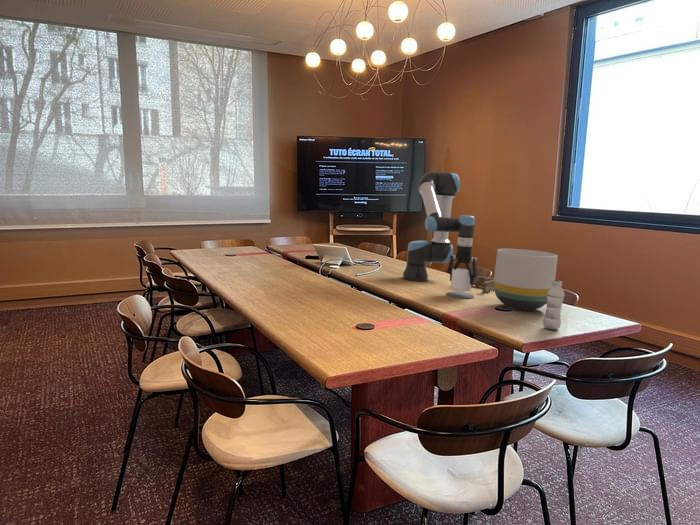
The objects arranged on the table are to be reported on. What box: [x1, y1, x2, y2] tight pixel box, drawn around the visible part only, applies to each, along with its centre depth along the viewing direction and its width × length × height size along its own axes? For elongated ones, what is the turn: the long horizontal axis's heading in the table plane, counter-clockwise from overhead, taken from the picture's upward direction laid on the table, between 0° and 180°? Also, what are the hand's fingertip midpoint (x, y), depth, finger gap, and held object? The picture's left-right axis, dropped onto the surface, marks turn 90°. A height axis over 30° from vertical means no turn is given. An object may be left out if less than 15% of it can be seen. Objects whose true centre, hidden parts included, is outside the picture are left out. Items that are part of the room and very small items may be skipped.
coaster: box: [446, 291, 475, 300], centre depth 245 cm, size 14×14×1 cm
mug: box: [450, 267, 469, 293], centre depth 244 cm, size 9×12×11 cm
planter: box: [493, 248, 558, 311], centre depth 223 cm, size 27×27×27 cm
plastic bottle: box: [542, 279, 566, 331], centre depth 189 cm, size 6×7×20 cm
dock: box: [469, 275, 494, 294], centre depth 266 cm, size 18×18×6 cm
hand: (460, 288), depth 245 cm, fingers closed on mug, 9 cm apart
